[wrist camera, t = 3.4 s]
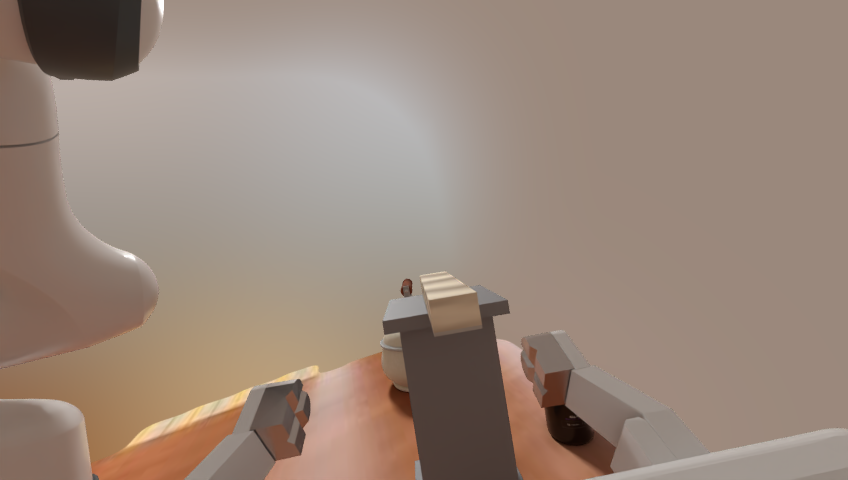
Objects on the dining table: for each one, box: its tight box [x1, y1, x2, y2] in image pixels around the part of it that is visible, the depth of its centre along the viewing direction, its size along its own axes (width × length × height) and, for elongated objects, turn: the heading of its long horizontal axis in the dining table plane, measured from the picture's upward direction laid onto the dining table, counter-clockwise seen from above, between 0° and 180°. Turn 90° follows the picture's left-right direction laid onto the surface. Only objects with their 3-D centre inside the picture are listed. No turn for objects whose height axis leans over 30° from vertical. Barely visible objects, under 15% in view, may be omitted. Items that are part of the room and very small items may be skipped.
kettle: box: [380, 279, 412, 392], centre depth 78 cm, size 25×18×25 cm
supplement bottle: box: [544, 404, 594, 445], centre depth 48 cm, size 7×7×12 cm
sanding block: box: [420, 271, 482, 337], centre depth 35 cm, size 21×4×3 cm, turn 3°
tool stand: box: [383, 285, 523, 480], centre depth 39 cm, size 13×14×26 cm
